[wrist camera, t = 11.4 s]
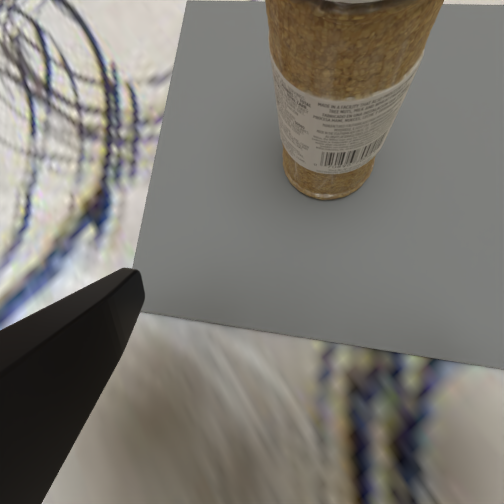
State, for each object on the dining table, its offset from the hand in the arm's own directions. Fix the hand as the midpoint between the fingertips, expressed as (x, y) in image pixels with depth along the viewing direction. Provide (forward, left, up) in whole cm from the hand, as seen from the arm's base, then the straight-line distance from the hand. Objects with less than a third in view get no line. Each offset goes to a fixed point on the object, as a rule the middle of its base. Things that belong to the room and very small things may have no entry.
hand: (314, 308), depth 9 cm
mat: (+5, +6, -9) cm, 12 cm away
